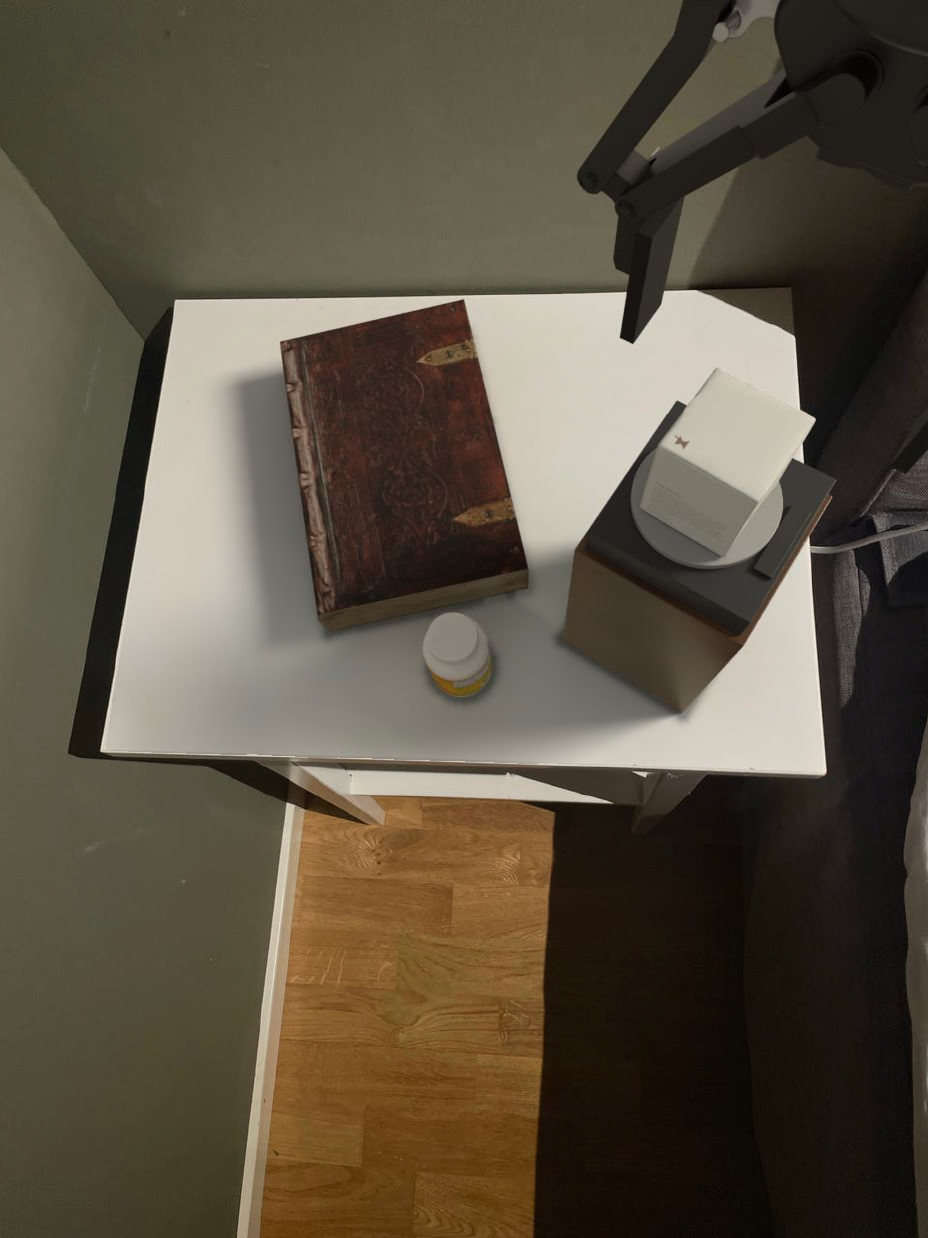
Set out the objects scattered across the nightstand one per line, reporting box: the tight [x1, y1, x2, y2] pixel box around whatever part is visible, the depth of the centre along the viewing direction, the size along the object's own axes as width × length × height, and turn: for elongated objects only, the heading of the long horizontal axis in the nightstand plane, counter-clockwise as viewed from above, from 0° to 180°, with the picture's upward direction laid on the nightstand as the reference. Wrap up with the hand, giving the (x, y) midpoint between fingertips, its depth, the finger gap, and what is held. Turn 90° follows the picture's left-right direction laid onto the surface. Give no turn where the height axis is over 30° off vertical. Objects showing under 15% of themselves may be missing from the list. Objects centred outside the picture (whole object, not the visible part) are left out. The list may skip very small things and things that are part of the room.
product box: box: [640, 367, 816, 557], centre depth 44 cm, size 6×6×7 cm
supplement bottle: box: [422, 611, 493, 698], centre depth 64 cm, size 5×5×10 cm
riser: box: [562, 415, 833, 713], centre depth 60 cm, size 12×12×20 cm
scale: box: [585, 400, 837, 635], centre depth 49 cm, size 11×11×3 cm
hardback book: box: [279, 298, 530, 632], centre depth 73 cm, size 29×19×5 cm, turn 11°
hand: (769, 381), depth 36 cm, fingers open, 13 cm apart
